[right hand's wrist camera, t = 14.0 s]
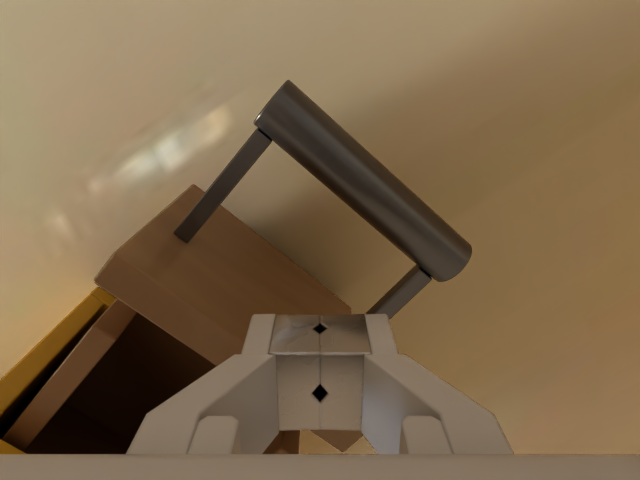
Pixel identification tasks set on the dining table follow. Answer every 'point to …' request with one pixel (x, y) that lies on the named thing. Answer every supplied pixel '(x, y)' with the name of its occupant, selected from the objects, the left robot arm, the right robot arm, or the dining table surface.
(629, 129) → the dining table surface
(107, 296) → the cabinet
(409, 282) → the drawer
